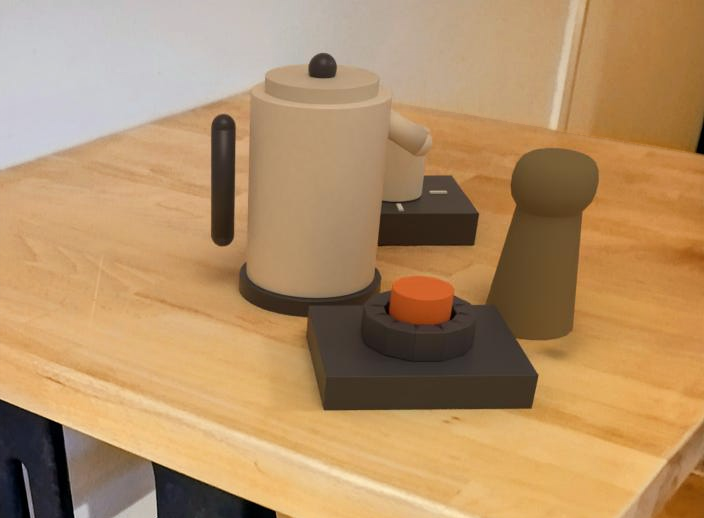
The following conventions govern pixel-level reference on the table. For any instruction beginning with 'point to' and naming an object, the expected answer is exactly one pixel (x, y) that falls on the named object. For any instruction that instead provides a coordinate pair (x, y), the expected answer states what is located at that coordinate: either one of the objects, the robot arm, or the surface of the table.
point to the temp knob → (403, 173)
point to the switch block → (417, 359)
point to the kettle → (310, 184)
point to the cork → (543, 243)
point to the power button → (421, 300)
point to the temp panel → (430, 216)
